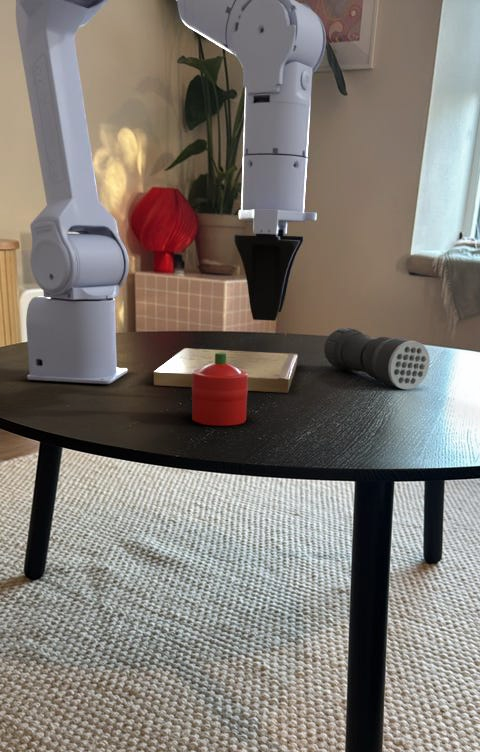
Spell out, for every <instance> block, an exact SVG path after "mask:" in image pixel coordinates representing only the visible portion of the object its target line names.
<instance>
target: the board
mask: <svg viewBox="0 0 480 752" xmlns="http://www.w3.org/2000/svg"><path fill="white" fill-rule="evenodd" d="M215 353H226V363H227V364H230V365H232V366H234V367H235V368H237V369H238V370H242V371H245V372H247V374H248V379H247V390H248V391H249V392H263V393H265V392H266V393H281V394H282V393H283V394H288V393H289V390H290V387H291V385H292V382H293V381H292V380H293V379H294V376H295V372H296V369H297V366H298V353H292V352H289V353H284V352H283V353H282V352H266V351H265V352H262V351H246V350H245V351H243V350H224V349H209V348H208V349H207V348H205V349H204V348H188V347H184V348H183V349H182V350H180V351H179V352H177V353H176V354H174V356H172V358H170V359H169V360H167V361H166V362H165V363H164V364H162V365H161V366H159V367H158V368H157V369H156V370H153V385H154V386H164V387H179V388H180V387H181V388H192V385H193V371H194V370H197V369H202V368H204V367H205V366H207V365H209V364H212V363H215Z"/></svg>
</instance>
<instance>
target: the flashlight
mask: <svg viewBox="0 0 480 752" xmlns="http://www.w3.org/2000/svg"><path fill="white" fill-rule="evenodd" d="M323 348H324V349H323V350H324V352H323V353H324V356H325V358H326V360H327V362H328V363H329V364H330V365H331V366H332V367H334V368H335V369H339V370H342V371H346V372H347V371H349V372H350V371H355V372H363V373H366V374H367V375H368V376H369V377H371V378H372V379H375V380H378V381H381V382H382V383H384V384H386V385H388V386H390V387H391V386H392V387H396V388H399V389H402V390H412V389H414V388H416V387H418V386H419V385H420V384H422V383H423V381H424V380H425V379H426V376H427V375H428V372H429V369H430V363H431V362H430V361H431V360H430V354H429V351H428V349H427V347H426V346H425V345H424V344H423V343H421V342H418V341H417V340H411V339H405V338H401V337H396V338H391V337H387V336H379V337H377V338H376V337H371V336H370V335H368V334H364V333H363V332H362V331H360V330H358V329H355V328H354V329H353V328H349V327H347V328H346V327H342V328H338V329H336V330H334V331H333V332H331V333H330V334H329V335H328V337H327V338H326V340H325V343H324V347H323Z"/></svg>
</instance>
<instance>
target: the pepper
mask: <svg viewBox="0 0 480 752" xmlns="http://www.w3.org/2000/svg"><path fill="white" fill-rule="evenodd" d="M247 379H248V374H247V372H245V371H242V370H238V369H237V368H235V367H234V366H232V365H230V364H227V363H226V353H215V363H212V364H209V365H207V366H205V367H204V368H202V369H197V370H194V371H193V385H192V387H191V396H192V397H191V398H192V402H191V403H192V406H191V408H192V409H191V410H192V411H191V419H192V421H193V422H195V423H197V424H200V425H205V426H212V427H231V426H238V425H242V424H243V423H245V422H246V420H247V405H248V403H247V401H248V393H249V392H248V390H247Z"/></svg>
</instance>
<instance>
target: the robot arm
mask: <svg viewBox="0 0 480 752" xmlns="http://www.w3.org/2000/svg"><path fill="white" fill-rule="evenodd" d="M108 1H109V0H15V23H16V30H17V34H18V35H17V36H18V40H19V46H20V53H21V58H22V65H23V71H24V76H25V83H26V88H27V89H26V90H27V95H28V99H29V100H28V101H29V106H30V107H29V108H30V112H31V117H32V124H33V131H34V136H35V141H36V147H37V148H36V149H37V154H38V161H39V165H40V172H41V176H42V177H41V178H42V184H43V189H44V196H45V202H46V206H45V207H44V208H43V209H42V210H41V211H40V213H39V214H37V216H36V217H35V218H34V219H33V220H32V221H31V223H30V225H29V227H30V231H31V233H30V234H31V250H30V257H29V259H30V268H31V273H32V276H33V278H34V280H35V282H36V285H38V287H39V288H40V289H41V290H42V291H43V296H42V295H40V296H34V297H32V298H31V299H30V300H29V303H28V305H27V309H26V317H25V318H26V319H25V323H26V325H25V327H26V343H27V355H28V356H27V357H28V369H29V374H27V375H26V378H27V380H28V381H29V380H30V381H43V382H44V381H46V382H60V383H61V382H62V383H63V382H64V383H78V384H79V383H80V384H96V385H97V384H98V385H110V384H112V383H113V382H115V381H116V380H118V379H119V378H121V377H122V376H124V375H126V374H127V373H128V368H127V367H118V366H117V363H118V362H117V359H118V357H117V327H116V326H117V324H116V323H117V322H116V320H117V319H116V299H115V298H116V297H120V288H121V287H122V286H123V285H124V284H125V282H126V280H127V278H128V275H129V270H130V260H129V254H128V251H127V249H126V246H125V244H124V243H123V241H122V239H121V237H120V234H119V230H118V224H117V220H116V219H115V217H114V216H113V215H112V214H111V213H110V212H109V211H108V209H107V208H106V207H105V206H104V204H102V203H101V201H100V200H99V195H98V187H97V182H96V175H95V174H96V173H95V166H94V161H93V153H92V147H91V141H90V134H89V128H88V127H89V126H88V121H87V114H86V108H85V101H84V95H83V88H82V81H81V75H80V68H79V62H78V55H77V49H76V41H75V36H76V34H77V33H78V31H79V29H80V28H81V27H83V26H85V25H87V24H88V23H89V21H91V20H92V18H93V17H94V16H95V15H96V14H97V13H98V12H99V11H100V10H101V9H102V7H104V5H105V4H106V3H107V2H108ZM175 1H176V3H177V11H178V14H179V17H180V20H181V21H182V23H183V24H184V25H185V26H186V27H187V28H189V29H190V30H192V31H194V32H196V33H197V34H199V35H201V36H202V37H204V38H206V39H207V40H209V41H211V42H212V43H214V44H215V45H216V46H219V47H220V48H222V49H224V50H225V51H227V52H229V53H230V54H232V55H233V56H235V57H236V58H237V61H238V62H239V63H240V65H241V68H242V75H243V77H242V78H243V79H242V87H243V88H244V110H243V111H244V112H243V113H244V114H243V144H242V175H241V176H242V177H241V202H240V203H241V204H240V209H239V210H238V220H241V221H253V223H252V224H253V226H252V235H248V234H234V236H233V238H234V239H233V241H234V244H235V247H236V249H237V252H238V253H239V257H240V259H241V261H242V265H243V269H244V273H245V278H246V286H247V293H248V299H249V306H250V314H251V317H252V320H255V321H270V322H271V321H272V322H275V321H276V320H277V318H278V314H279V313H281V312H282V310H283V307H284V305H285V304H284V303H285V300H286V296H287V290H288V286H289V281H290V276H291V272H292V270H293V269H292V268H293V266H294V262H295V259H296V257H297V254H298V252H299V250H300V249H301V247H302V245H303V243H304V241H305V240H304V239H305V237H304V236H302V235H286V234H287V233H288V223H305V222H306V221H314V222H315V221H317V218H318V217H317V215H318V214H317V212H310V211H309V212H308V211H305V200H306V184H307V183H306V182H307V168H308V153H309V136H310V121H311V119H310V118H311V103H312V102H311V101H312V86H313V85H312V84H313V74H314V73H316V71H317V70H318V68H319V66H320V65H321V63H322V60H323V59H324V55H325V53H326V47H327V34H326V29H325V26H324V23H323V21H322V19H321V18H320V16H319V15H318V14H317V13H316V12H315V11H314V10H313V9H311V7H310V6H309V5H308V4H306V3H301V2H298V1H296V0H175ZM253 234H254V235H253Z"/></svg>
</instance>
